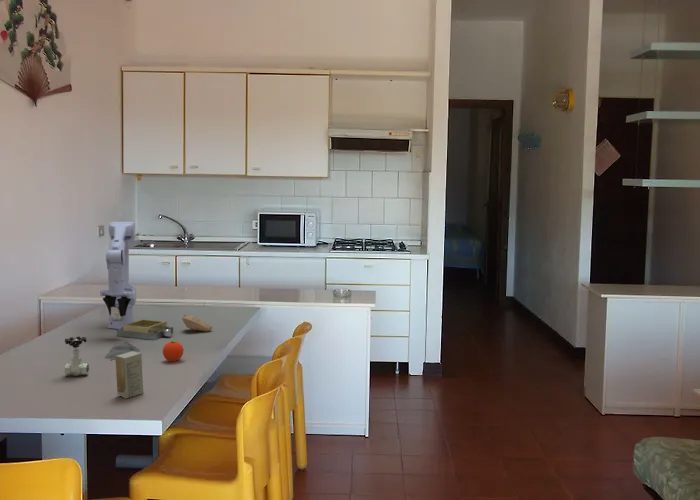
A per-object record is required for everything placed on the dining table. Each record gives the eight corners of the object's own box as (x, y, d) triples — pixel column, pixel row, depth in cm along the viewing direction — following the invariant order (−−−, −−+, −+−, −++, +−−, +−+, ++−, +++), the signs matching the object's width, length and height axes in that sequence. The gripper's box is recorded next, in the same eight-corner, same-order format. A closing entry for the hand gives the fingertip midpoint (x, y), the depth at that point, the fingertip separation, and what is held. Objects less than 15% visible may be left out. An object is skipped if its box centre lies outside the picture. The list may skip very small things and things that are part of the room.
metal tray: (116, 335, 269) (116, 324, 269) (136, 329, 280) (136, 318, 280) (161, 340, 262) (160, 329, 261) (179, 333, 273) (179, 322, 272)
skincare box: (134, 390, 203) (133, 350, 201) (144, 393, 200) (142, 352, 199) (116, 396, 197) (114, 355, 196) (125, 399, 195) (124, 357, 194)
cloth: (125, 363, 234) (125, 357, 233) (86, 362, 235) (86, 355, 235) (153, 344, 259) (153, 338, 259) (119, 343, 261) (118, 337, 260)
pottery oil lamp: (209, 334, 273) (209, 316, 272) (179, 334, 273) (179, 316, 272) (214, 329, 281) (213, 312, 281) (185, 328, 282) (184, 312, 281)
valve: (69, 372, 220) (68, 336, 219) (90, 372, 221) (89, 336, 219) (63, 379, 214) (61, 341, 212) (84, 378, 214) (83, 341, 213)
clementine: (167, 357, 239) (166, 337, 238) (187, 357, 239) (186, 337, 238) (160, 363, 231) (159, 343, 230) (180, 364, 231) (180, 343, 230)
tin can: (108, 320, 262) (107, 304, 261) (116, 318, 266) (116, 302, 266) (118, 321, 260) (117, 305, 260) (126, 319, 265) (125, 303, 264)
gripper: (93, 280, 261) (95, 315, 262) (124, 283, 255) (125, 319, 257) (106, 278, 267) (108, 312, 269) (136, 280, 262) (138, 315, 263)
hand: (117, 315), depth 263 cm, fingers closed on tin can, 5 cm apart
